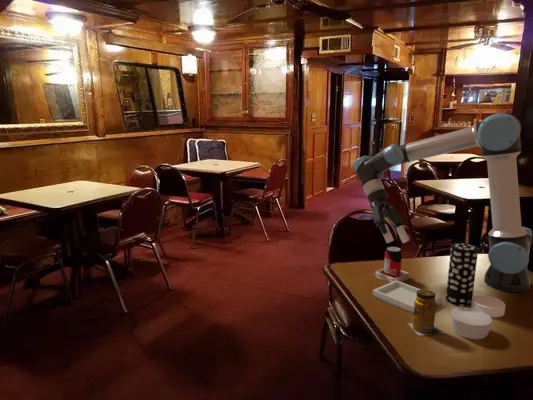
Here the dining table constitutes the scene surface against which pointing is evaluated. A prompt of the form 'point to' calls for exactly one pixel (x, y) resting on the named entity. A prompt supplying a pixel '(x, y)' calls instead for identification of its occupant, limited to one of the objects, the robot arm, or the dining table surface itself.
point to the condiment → (425, 314)
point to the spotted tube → (461, 274)
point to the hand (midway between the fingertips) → (398, 241)
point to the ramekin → (471, 323)
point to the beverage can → (392, 262)
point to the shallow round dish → (488, 305)
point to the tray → (399, 295)
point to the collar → (389, 279)
